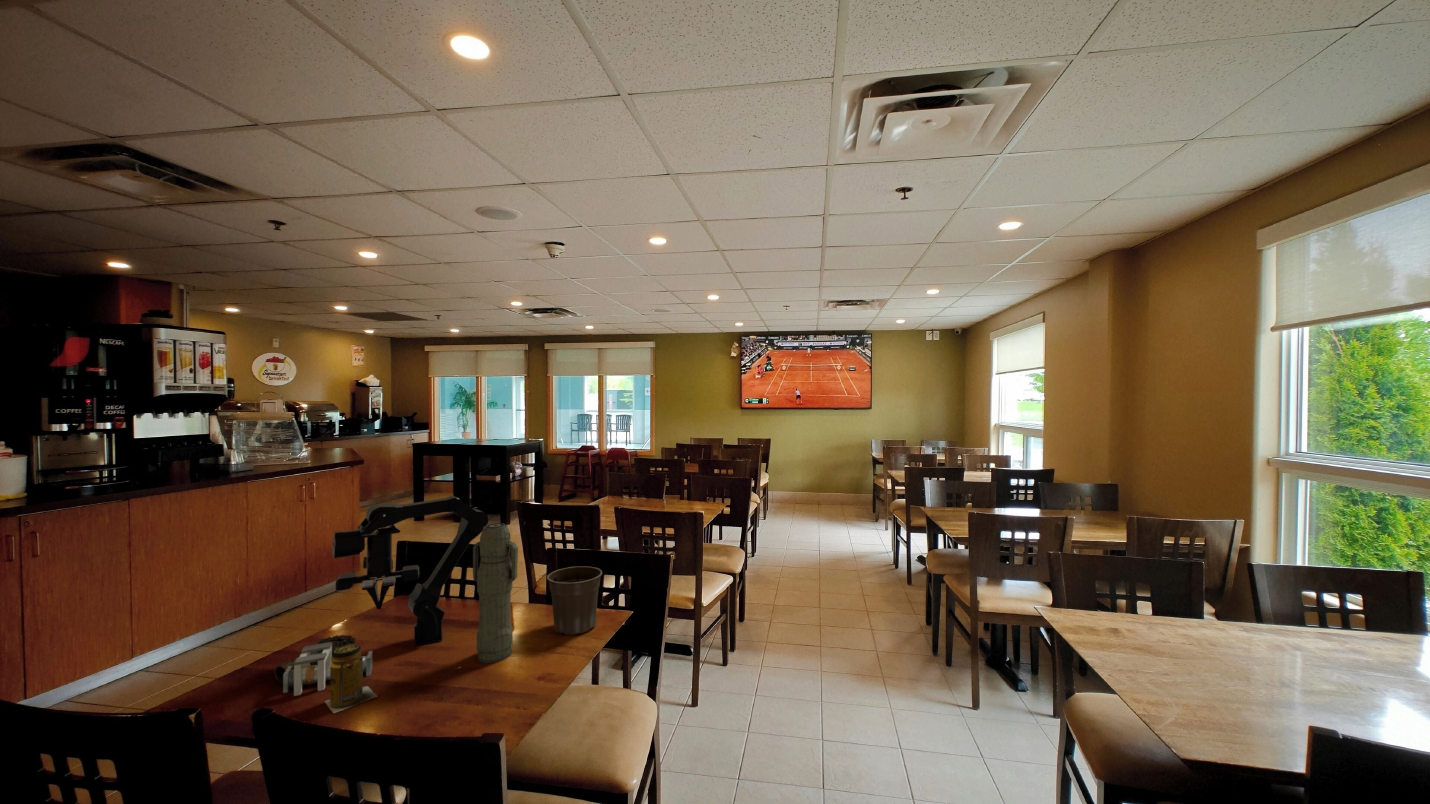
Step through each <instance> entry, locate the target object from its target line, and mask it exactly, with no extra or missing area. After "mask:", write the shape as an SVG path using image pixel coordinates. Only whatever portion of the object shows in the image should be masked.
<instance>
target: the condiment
mask: <svg viewBox="0 0 1430 804" xmlns="http://www.w3.org/2000/svg"><path fill="white" fill-rule="evenodd" d="M361 649H362V647H361V644H357V643H355V644H349V645H344V646H341V647H339V648H337V649H335V650H334V651H333V654H332V655H333V659H332V663H331V668H330V682H329V686H330V688H329V695H330V696H329V699H327V700H325V701H324V703H325V704H326V705H327V707H328V708H329V710H330V711H331V712H332V714H336V713H339V712H341V711H344V710H346V709H349V708H352V707H355V706H357V705H359V704H361V703H365V702H367V701H370V700H372V699H373V698H377V697H378V695H377V694H376V693H375V692H374V691H373V690H372V689H371V688H370V687H369V686H368V685H366V686H363V682H364V681H363V679H364V678H363V677H364V673H363V658H362V657H363V656H362V651H361Z"/></svg>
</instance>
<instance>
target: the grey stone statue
mask: <svg viewBox="0 0 1430 804" xmlns="http://www.w3.org/2000/svg"><path fill="white" fill-rule="evenodd" d="M510 553H511V556H510ZM518 553H519V547H518V545H517V544H516V542H512V540H511V531H510V530H509V526H508V525H507V524H505V523H503V522H502V523H501V522H495V523H488V524H487V525H486V526H485V527H483V530H482V532H481V533H480V538H479V541H477V542H475V544H474V545H473V547H472V577H473V581H474V582H475V583H476V584H477V586H476V591H477V594H478V599H479V601H478V602H479V603H478V606H479V607H478V611H479V612H478V615H479V616H478V630H477V633H476V650H477V657H476V659H477V660H478V661H479V662H480V663H484V664H488V663H489V664H491V663H497V662H500V661H504V660H506V659H508V658H509V657H511V656H512V654H513V647H512V646H513V643H514V642H513V641H514V640H513V638H514V637H513V636H514V635H513V634H514V633H513V632H514V631H513V629H514V627H513V624H512V620H511V615H512V614H511V612H512V611H511V610H512V609H511V607H512V606H511V605H512V604H511V600H512V599H511V596H512V595H511V594H512V593H511V591H512V589H513V587H514V586H513V582H514V581H515V580H516V579H517V578H518V557H519V554H518ZM479 557H480V560H479Z"/></svg>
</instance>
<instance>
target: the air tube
mask: <svg viewBox="0 0 1430 804" xmlns="http://www.w3.org/2000/svg"><path fill="white" fill-rule="evenodd" d="M362 658H363V674H364V673H365V675H366V677H370V676H371V674H372V671H373V650H369V651H368V652H367V655H363V656H362ZM332 662H333V661H332ZM332 662H331V663H332ZM331 663H326V664H325V681H329V680H330V668H331ZM315 683H318V665H312V666H308V667H305V668H302V686H304V685H306V686H308V685H313V684H315ZM291 688H294V670H293V665H292V666H288V668H287V669H286V671H285V673H284V674H283V683H282V690H283V691H282V694H287V693H289V690H290V689H291Z"/></svg>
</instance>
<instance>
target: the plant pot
mask: <svg viewBox="0 0 1430 804" xmlns="http://www.w3.org/2000/svg"><path fill="white" fill-rule="evenodd" d="M602 575H603V571H602V570H601V569H600V568H598V567H593V566H588V565H587V566H585V565H584V566H582V565H581V566H580V565H578V566H570V567H565V568H564V567H563V568H560V569H557V570H554V571H551V572H550V573H549V574H547V577H546V579H547V581H548V585H549V586H548V588H549V591H550V595H551V604H552V613H553V614H552V617H553V624H554V626H553V627H554V628H553V629H554V631H555V632H556V633H558V634H560V635H561V634H564V635H567V636H568V635H569V636H571V635H574V636H575V635H580V634H584V633H587V632H589V631H590V630H591V629H593V628H595V627H596V622H597V608H598V600H599V599H598V597H599V588H600V586H601V577H602Z"/></svg>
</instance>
